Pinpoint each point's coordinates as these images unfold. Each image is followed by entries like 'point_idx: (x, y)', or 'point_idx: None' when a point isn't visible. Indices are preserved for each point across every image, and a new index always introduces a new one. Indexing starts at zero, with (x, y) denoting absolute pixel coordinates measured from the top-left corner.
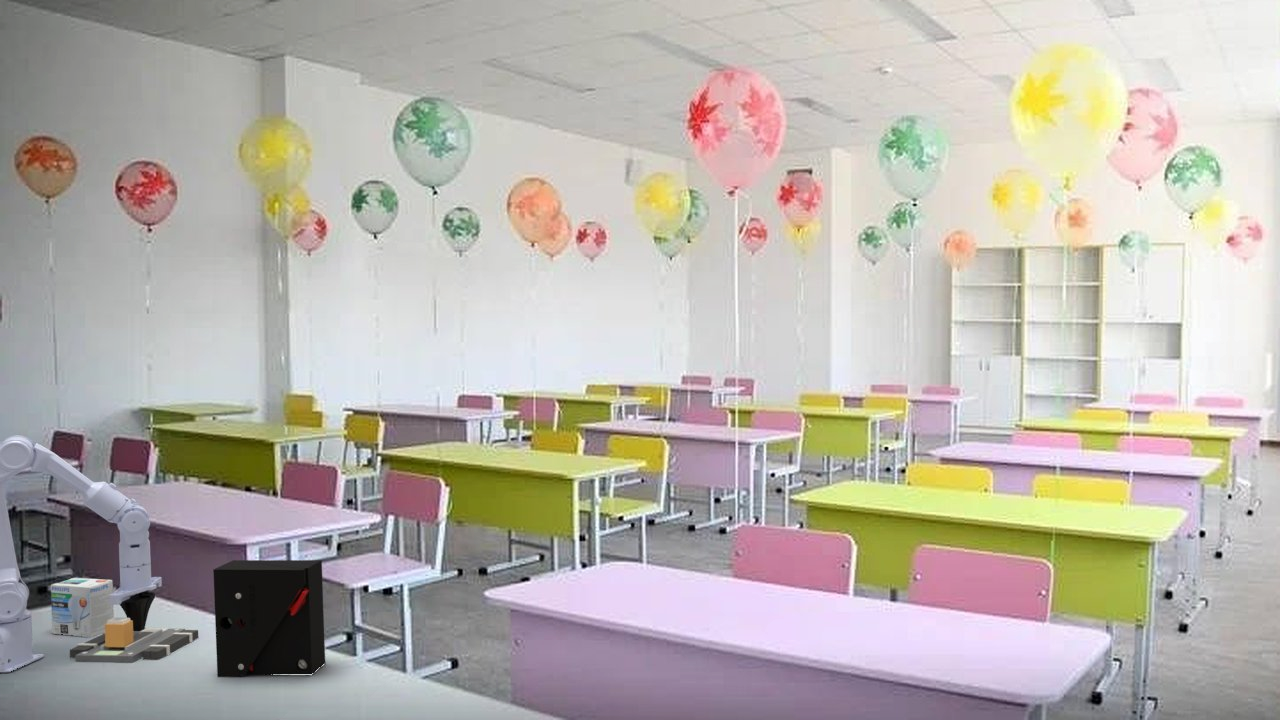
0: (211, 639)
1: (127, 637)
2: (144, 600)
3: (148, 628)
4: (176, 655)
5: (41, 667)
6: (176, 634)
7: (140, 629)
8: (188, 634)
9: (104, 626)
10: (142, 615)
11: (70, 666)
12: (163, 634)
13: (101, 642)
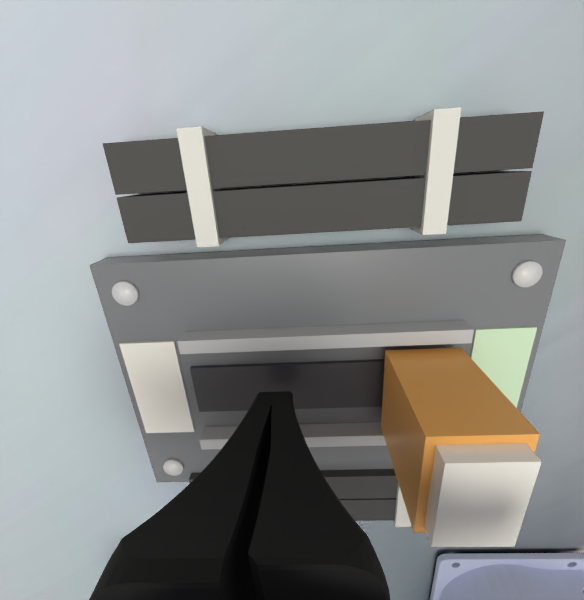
0: (128, 32)
1: (451, 371)
2: (325, 552)
3: (148, 424)
4: (438, 56)
5: (542, 509)
6: (217, 221)
7: (291, 396)
8: (203, 139)
9: None
10: (288, 447)
11: (548, 440)
12: (202, 313)
13: (366, 475)
